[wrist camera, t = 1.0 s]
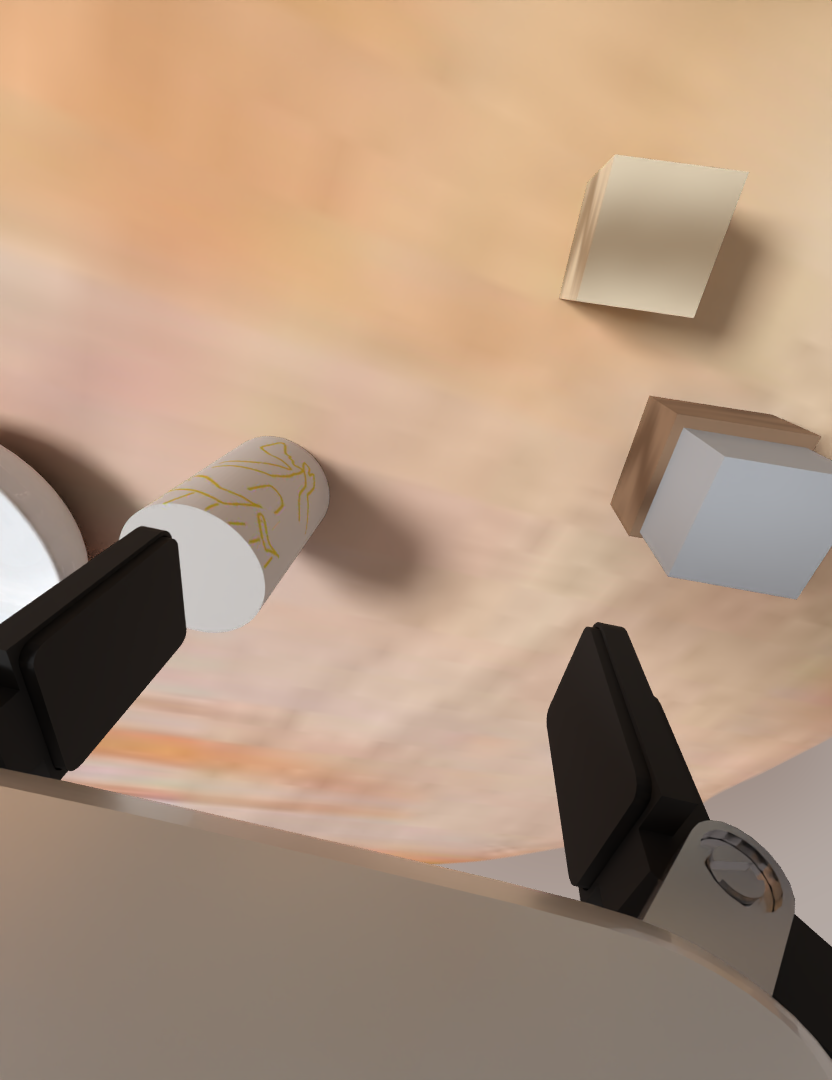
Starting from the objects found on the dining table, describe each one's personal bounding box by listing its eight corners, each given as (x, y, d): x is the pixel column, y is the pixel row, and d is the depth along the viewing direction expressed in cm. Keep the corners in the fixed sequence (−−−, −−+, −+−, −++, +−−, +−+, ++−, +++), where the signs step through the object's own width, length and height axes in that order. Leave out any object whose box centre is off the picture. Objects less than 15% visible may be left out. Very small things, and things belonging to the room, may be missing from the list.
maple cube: (587, 182, 25) (614, 154, 20) (692, 196, 25) (749, 171, 19) (558, 298, 27) (576, 300, 22) (653, 312, 27) (693, 317, 22)
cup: (349, 479, 35) (290, 563, 24) (299, 554, 38) (229, 654, 28) (252, 413, 33) (145, 472, 23) (210, 497, 37) (101, 581, 26)
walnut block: (648, 395, 29) (677, 413, 25) (770, 414, 29) (821, 436, 25) (609, 503, 33) (628, 535, 29) (717, 521, 33) (753, 557, 28)
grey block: (683, 427, 25) (724, 456, 21) (806, 447, 25) (874, 481, 21) (639, 532, 28) (668, 576, 24) (748, 551, 28) (796, 599, 24)
